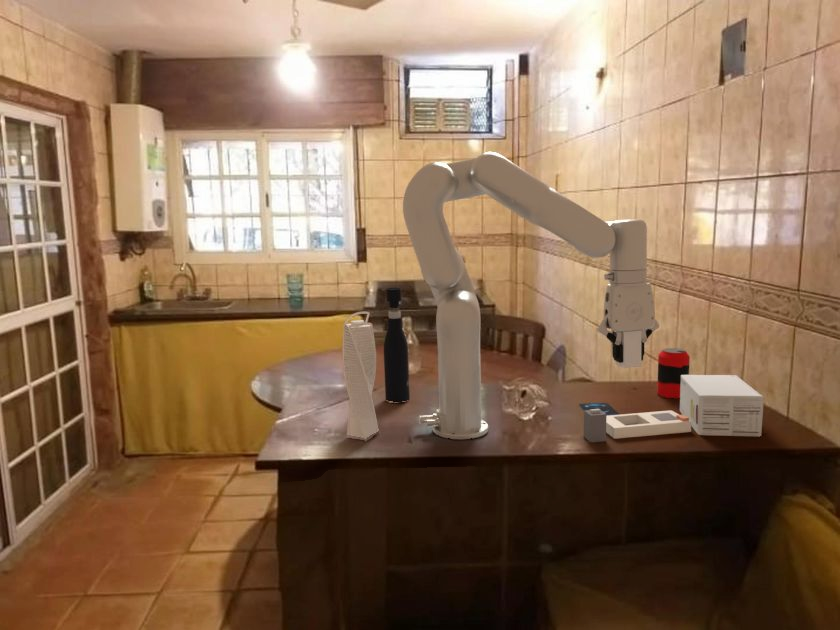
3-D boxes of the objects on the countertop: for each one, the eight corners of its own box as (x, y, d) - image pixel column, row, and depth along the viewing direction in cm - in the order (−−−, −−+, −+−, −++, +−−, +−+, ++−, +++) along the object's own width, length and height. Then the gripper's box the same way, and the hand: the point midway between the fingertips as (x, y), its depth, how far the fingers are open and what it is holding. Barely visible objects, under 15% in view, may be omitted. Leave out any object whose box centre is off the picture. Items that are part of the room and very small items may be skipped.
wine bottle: (383, 398, 172) (378, 287, 168) (405, 395, 174) (402, 286, 169) (389, 404, 166) (384, 290, 161) (412, 402, 168) (409, 289, 163)
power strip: (614, 438, 138) (614, 425, 137) (598, 426, 146) (598, 413, 145) (690, 431, 141) (691, 418, 140) (671, 420, 149) (671, 407, 148)
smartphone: (607, 402, 163) (627, 421, 148) (607, 404, 163) (627, 423, 148) (577, 403, 163) (594, 422, 148) (577, 405, 163) (594, 424, 148)
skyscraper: (359, 428, 150) (353, 310, 145) (386, 432, 146) (381, 311, 141) (339, 439, 143) (333, 315, 138) (368, 444, 139) (362, 317, 135)
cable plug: (590, 442, 136) (591, 412, 135) (583, 436, 140) (584, 407, 139) (605, 441, 137) (606, 411, 136) (598, 435, 140) (599, 406, 139)
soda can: (679, 401, 163) (681, 355, 161) (651, 395, 168) (653, 350, 166) (693, 394, 168) (695, 350, 166) (665, 389, 173) (667, 346, 171)
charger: (624, 368, 138) (624, 331, 137) (615, 363, 142) (615, 328, 141) (641, 366, 139) (641, 329, 137) (632, 362, 143) (632, 326, 141)
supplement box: (678, 411, 155) (679, 374, 154) (735, 412, 153) (737, 374, 152) (697, 436, 139) (699, 394, 137) (762, 437, 137) (764, 395, 135)
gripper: (599, 282, 132) (600, 368, 135) (673, 276, 135) (673, 360, 138) (584, 278, 140) (585, 360, 143) (655, 273, 142) (654, 353, 145)
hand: (628, 359), depth 140 cm, fingers closed on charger, 4 cm apart
